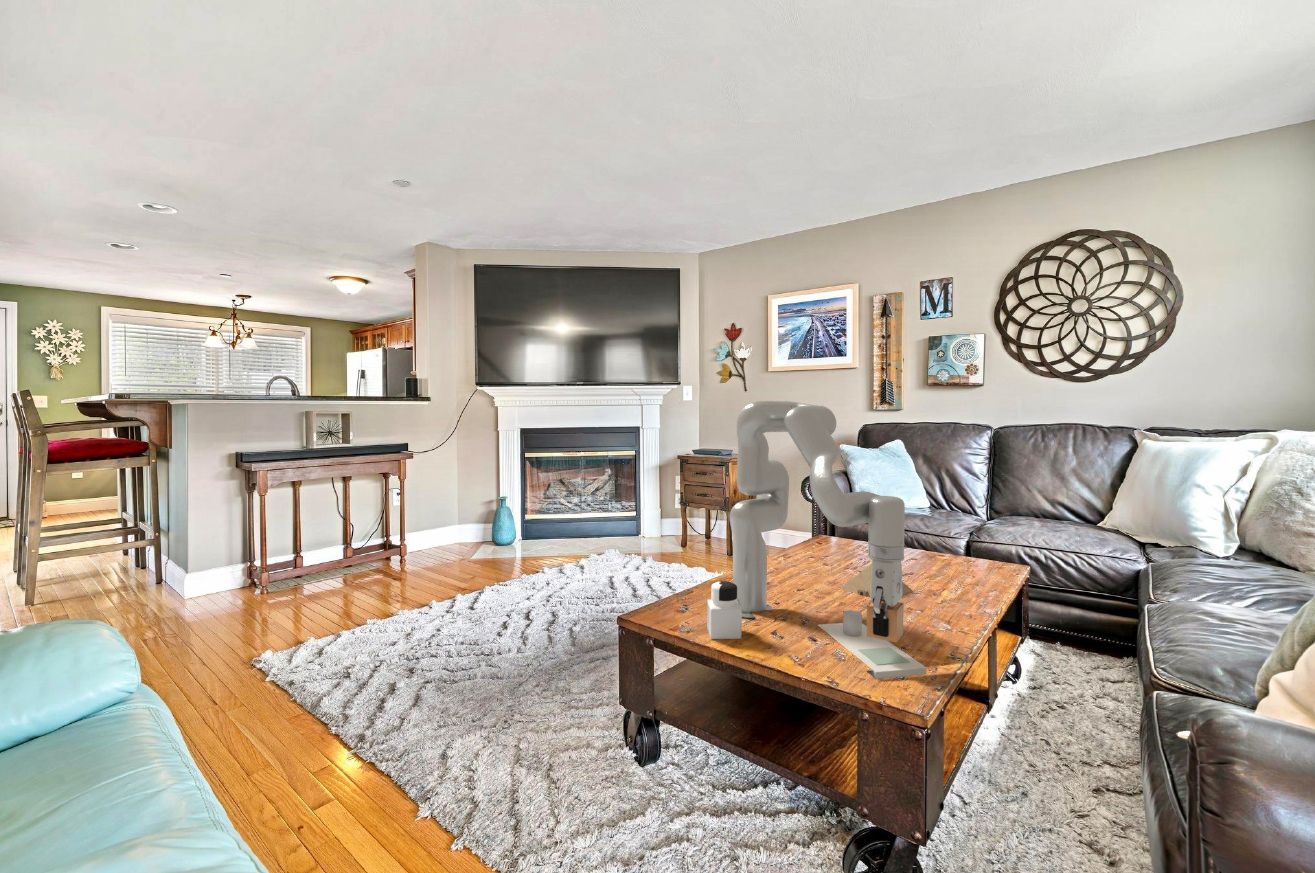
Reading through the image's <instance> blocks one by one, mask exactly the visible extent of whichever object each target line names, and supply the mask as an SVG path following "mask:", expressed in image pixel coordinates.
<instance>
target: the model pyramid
mask: <svg viewBox="0 0 1315 873" xmlns="http://www.w3.org/2000/svg"><path fill="white" fill-rule="evenodd" d="M871 568H872V563H871V564H869V566H867V567H866V568H864V569H863V570H861V572H859V573H858V574H857V575H855V576H854V577H853V578H851V579H850V580H849V581H848V582H847V583H845V584H844V585H843V586H842V587H840V588H839V590H843V591H846V592H851V593H853V594H857V596H858V595H859V596H860V595H862V596H863V597H869V598H871V596H870V588H871ZM912 591H913V589H912V588H910V587H909V585H907V584H906V583H905V582H904V581H902V592H903V595H902V596H904V595H906V594H908V593H910V592H912Z"/></svg>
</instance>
